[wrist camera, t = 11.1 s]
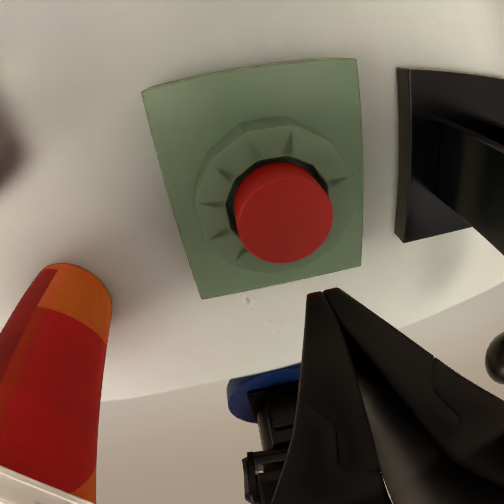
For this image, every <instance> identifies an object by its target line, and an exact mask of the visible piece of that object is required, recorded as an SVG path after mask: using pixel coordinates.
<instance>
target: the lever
mask: <svg viewBox="0 0 504 504" xmlns="http://www.w3.org/2000/svg"><path fill="white" fill-rule="evenodd" d="M485 366H486V370H487V373H488V374H489V376H490V377H491V378H492V379H493V380H494V381H495V382H497V383H500V384H504V332H503V333H501V334H499V335H498V336H497V337H495V338H494V340H493V341H492V342H491V343H490V345H489V347H488V349H487V352H486V357H485Z"/></svg>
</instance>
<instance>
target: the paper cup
mask: <svg viewBox="0 0 504 504" xmlns="http://www.w3.org/2000/svg"><path fill="white" fill-rule="evenodd" d="M111 313H112V302H111V298H110V295H109V293H108V291H107V289H106V288H105V286H104V285H103V284H102V283H101V281H100V280H99V279H98V278H96V277H95V276H94V275H93V274H91V273H90V272H88V271H86V270H85V269H82V268H80V267H78V266H75V265H70V264H53V265H50V266H48V267H46V268H44V269H43V270H42V271H41V272H40V273H39V274H38V276H37V277H36V278H35V279H34V281H33V282H32V284H31V285H30V286H29V288H28V289H27V291H26V292H25V294H24V295H23V297H22V298H21V300H20V302H19V303H18V305H17V306H16V308H15V309H14V311H13V313H12V314H11V316H10V318H9V319H8V321H7V323H6V324H5V326H4V328H3V330H2V331H1V333H0V504H96V459H97V458H96V457H97V438H98V423H99V411H100V400H101V390H102V381H103V372H104V364H105V357H106V349H107V342H108V336H109V328H110V321H111Z"/></svg>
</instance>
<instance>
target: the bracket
mask: <svg viewBox="0 0 504 504" xmlns="http://www.w3.org/2000/svg"><path fill="white" fill-rule="evenodd" d="M397 77H398V96H399V176H398V196H397V211H396V223H395V234H396V235H397V237H398V238H399V239H400V240H401V241H402V242H403V243H406V242H411V241H415V240H419V239H423V238H428V237H432V236H436V235H440V234H444V233H448V232H453V231H457V230H461V229H465V228H469V227H473V228H474V229H476V230H477V231H478V232H479V233H480V234H481V235H482V236H483V237H485V238H486V239H487V240H488V241H489V242H490V243H491V244H492V245H493V246H494V247H495V248H496V249H498V250H499V251H500V252H501V253H502V254H503V255H504V78H502V77H496V76H490V75H483V74H476V73H468V72H460V71H451V70H439V69H426V68H406V67H398V68H397Z"/></svg>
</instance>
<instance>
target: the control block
mask: <svg viewBox="0 0 504 504" xmlns="http://www.w3.org/2000/svg"><path fill="white" fill-rule="evenodd" d="M141 94H142V98H143V102H144V106H145V110H146V114H147V118H148V122H149V126H150V130H151V134H152V138H153V142H154V145H155V149H156V153H157V157H158V160H159V164H160V168H161V171H162V175H163V178H164V182H165V185H166V189H167V192H168V196H169V199H170V202H171V206H172V209H173V213H174V216H175V219H176V222H177V226H178V229H179V232H180V235H181V239H182V242H183V245H184V248H185V251H186V254H187V257H188V260H189V264H190V267H191V270H192V273H193V276H194V279H195V282H196V285H197V288H198V291H199V294H200V296H201V299H208V298H213V297H218V296H223V295H228V294H233V293H238V292H243V291H248V290H253V289H258V288H263V287H268V286H272V285H277V284H282V283H287V282H291V281H296V280H300V279H305V278H310V277H314V276H319V275H323V274H328V273H332V272H336V271H341V270H345V269H349V268H354V267H358V266H361V251H362V226H363V149H362V124H361V106H360V92H359V80H358V69H357V60H356V59H352V58H327V59H311V60H298V61H288V62H279V63H270V64H262V65H255V66H248V67H242V68H236V69H230V70H224V71H219V72H214V73H208V74H204V75H199V76H194V77H190V78H185V79H181V80H177V81H173V82H169V83H165V84H161V85H157V86H154V87H150V88H148V89H145V90H143V91H142V92H141ZM274 162H287V163H292V164H296V165H298V166H300V167H302V168H304V169H305V170H306V171H308V172H309V173H310V174H311V175H312V176H313V178H314V179H315V180H316V181H317V182H318V184H319V185H320V186H321V187H322V188H323V190H324V191H325V192H326V194H327V195H328V197H329V199H330V201H331V204H332V208H333V221H332V226H331V229H330V232H329V234H328V236H327V238H326V239H325V241H324V242H323V243H322V245H321V246H320V247H319V248H318V249H317V250H315V251H314V252H313V253H311V254H310V255H308V256H307V257H305V258H303V259H300V260H297V261H294V262H289V263H271V262H267V261H264V260H261V259H259V258H257V257H256V256H254V255H252V254H251V253H250V252H249V251H248V250H247V249H246V248H245V247H244V245H243V244H242V242H241V240H240V238H239V235H238V231H237V225H236V220H235V214H234V197H235V194H236V191H237V189H238V186H239V185H240V183H241V182H242V181H243V179H244V178H245V177H246V176H247V175H248V174H249V173H250V172H252V171H253V170H255V169H256V168H258V167H260V166H263V165H265V164H269V163H274Z"/></svg>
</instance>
